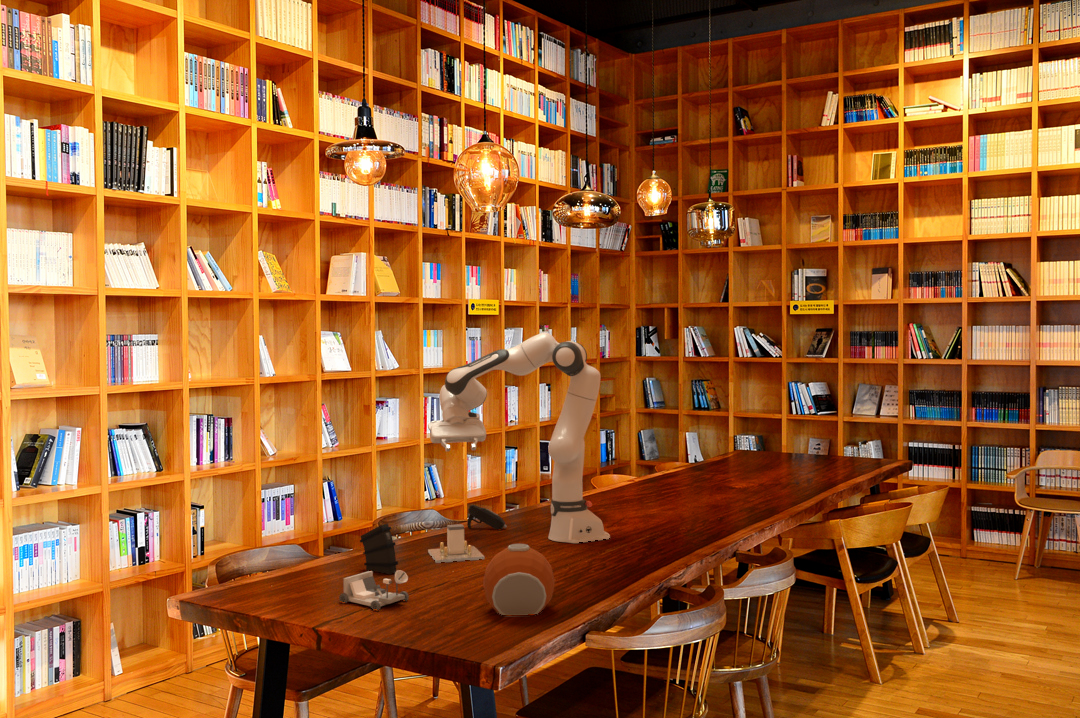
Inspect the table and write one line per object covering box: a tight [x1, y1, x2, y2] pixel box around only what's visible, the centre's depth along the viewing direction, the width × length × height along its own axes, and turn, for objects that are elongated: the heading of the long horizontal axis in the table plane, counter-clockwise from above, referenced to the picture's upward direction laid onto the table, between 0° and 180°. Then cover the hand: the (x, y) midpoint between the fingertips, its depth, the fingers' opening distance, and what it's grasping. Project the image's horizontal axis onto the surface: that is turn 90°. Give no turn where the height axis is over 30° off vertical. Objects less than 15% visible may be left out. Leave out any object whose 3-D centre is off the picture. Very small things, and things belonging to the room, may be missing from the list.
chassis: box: [427, 539, 485, 564], centre depth 299 cm, size 16×16×4 cm
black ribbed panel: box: [359, 523, 399, 575], centre depth 280 cm, size 4×13×15 cm, turn 53°
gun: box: [466, 504, 508, 530], centre depth 343 cm, size 3×16×10 cm, turn 79°
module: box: [446, 523, 465, 554], centre depth 299 cm, size 5×4×9 cm
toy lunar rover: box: [339, 569, 410, 611], centre depth 246 cm, size 18×10×12 cm
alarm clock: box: [482, 543, 556, 616], centre depth 237 cm, size 19×18×17 cm
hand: (461, 449), depth 318 cm, fingers open, 8 cm apart
